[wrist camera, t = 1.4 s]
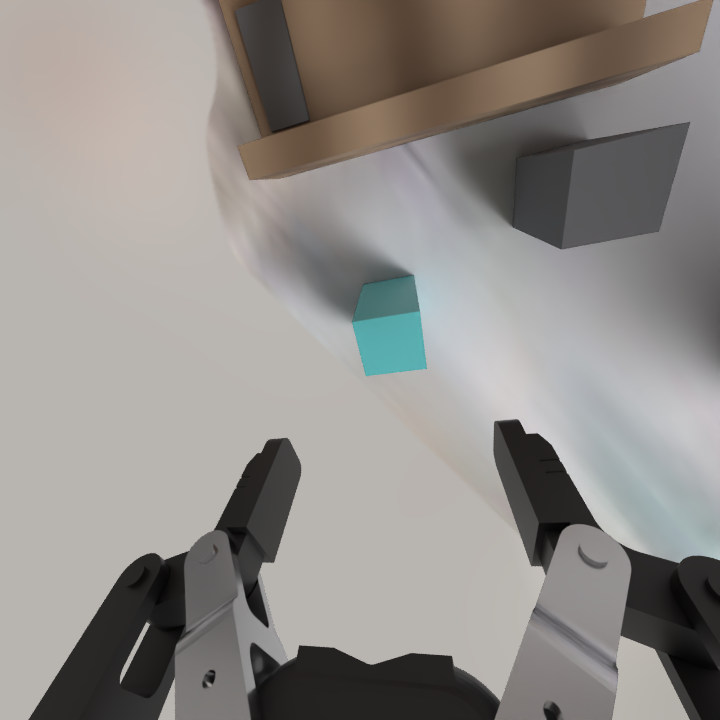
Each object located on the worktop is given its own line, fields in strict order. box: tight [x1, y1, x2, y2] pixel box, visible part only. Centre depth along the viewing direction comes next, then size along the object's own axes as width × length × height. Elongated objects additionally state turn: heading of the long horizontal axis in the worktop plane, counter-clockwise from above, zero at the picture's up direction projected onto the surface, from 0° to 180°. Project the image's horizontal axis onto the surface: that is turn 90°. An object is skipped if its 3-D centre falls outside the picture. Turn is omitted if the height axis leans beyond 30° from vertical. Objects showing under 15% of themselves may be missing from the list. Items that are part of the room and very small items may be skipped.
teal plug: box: [352, 275, 427, 376], centre depth 21 cm, size 4×4×7 cm
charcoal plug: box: [513, 122, 690, 249], centre depth 16 cm, size 4×4×7 cm
